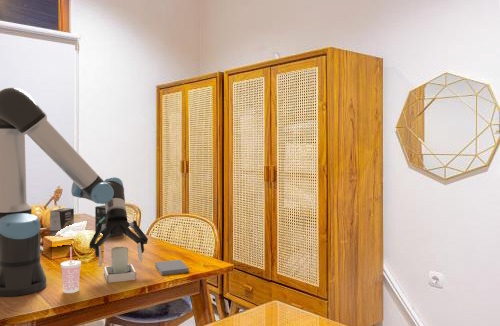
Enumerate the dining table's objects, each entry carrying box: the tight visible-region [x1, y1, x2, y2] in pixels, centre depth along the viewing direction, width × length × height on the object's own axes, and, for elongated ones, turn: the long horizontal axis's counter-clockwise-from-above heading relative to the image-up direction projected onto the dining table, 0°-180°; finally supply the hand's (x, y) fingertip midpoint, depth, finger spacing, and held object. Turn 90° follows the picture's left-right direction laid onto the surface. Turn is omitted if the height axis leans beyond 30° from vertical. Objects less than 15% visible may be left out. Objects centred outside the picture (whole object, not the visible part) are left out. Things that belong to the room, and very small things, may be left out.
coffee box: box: [49, 207, 75, 237], centre depth 193 cm, size 9×6×16 cm
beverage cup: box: [60, 246, 82, 294], centre depth 134 cm, size 6×6×14 cm
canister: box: [111, 246, 129, 275], centre depth 149 cm, size 6×6×10 cm
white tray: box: [103, 263, 137, 284], centre depth 149 cm, size 10×11×2 cm
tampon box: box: [94, 204, 117, 238], centre depth 215 cm, size 11×9×15 cm
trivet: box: [154, 259, 190, 276], centre depth 159 cm, size 10×12×2 cm
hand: (121, 262), depth 147 cm, fingers open, 13 cm apart
